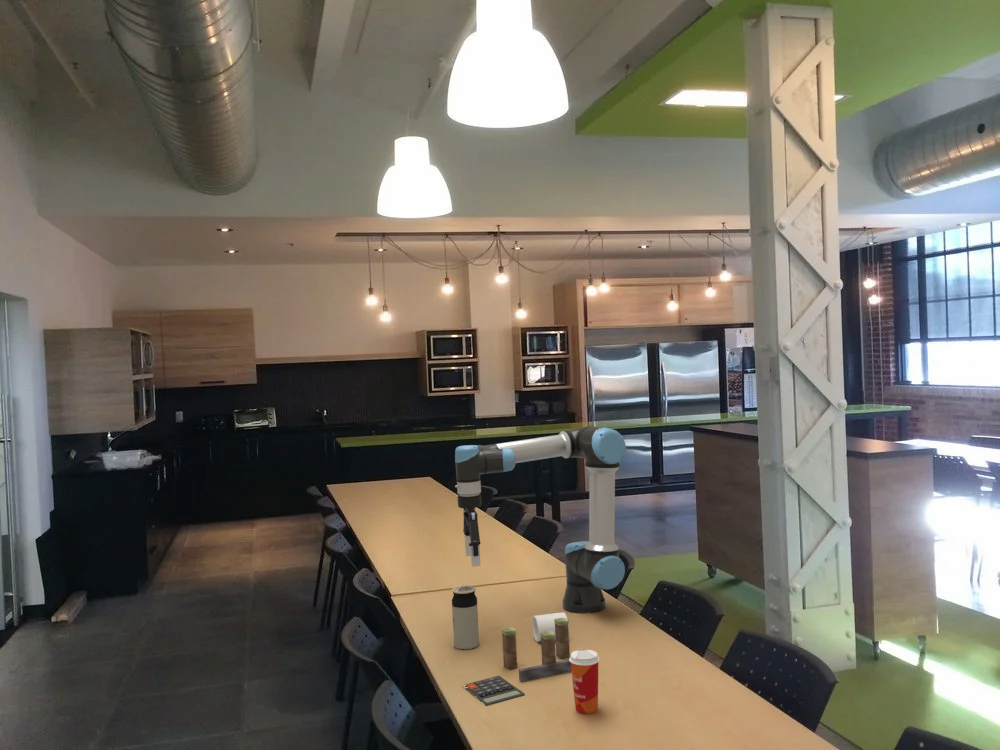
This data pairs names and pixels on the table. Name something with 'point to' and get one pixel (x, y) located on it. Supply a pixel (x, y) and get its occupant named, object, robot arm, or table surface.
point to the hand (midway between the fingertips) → (472, 560)
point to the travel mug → (465, 617)
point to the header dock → (547, 649)
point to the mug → (545, 623)
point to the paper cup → (585, 680)
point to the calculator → (493, 690)
